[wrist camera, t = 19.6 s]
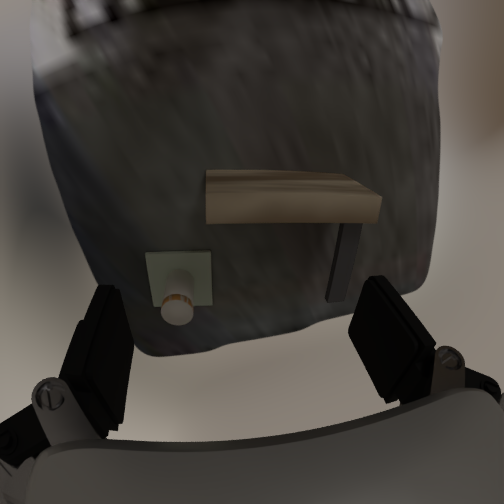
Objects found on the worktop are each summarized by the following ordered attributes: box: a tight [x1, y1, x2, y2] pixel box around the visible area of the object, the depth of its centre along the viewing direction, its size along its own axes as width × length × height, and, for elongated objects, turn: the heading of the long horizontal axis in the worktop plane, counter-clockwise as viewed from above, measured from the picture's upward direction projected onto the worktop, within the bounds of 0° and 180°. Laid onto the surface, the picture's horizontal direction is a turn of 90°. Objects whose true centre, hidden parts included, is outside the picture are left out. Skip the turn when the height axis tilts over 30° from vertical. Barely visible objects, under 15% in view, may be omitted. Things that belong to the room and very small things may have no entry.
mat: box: [145, 250, 213, 307], centre depth 40 cm, size 9×9×1 cm
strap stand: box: [206, 170, 382, 224], centre depth 32 cm, size 3×18×10 cm, turn 87°
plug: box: [161, 269, 194, 325], centre depth 37 cm, size 4×4×7 cm
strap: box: [325, 223, 363, 303], centre depth 33 cm, size 11×2×1 cm, turn 177°
